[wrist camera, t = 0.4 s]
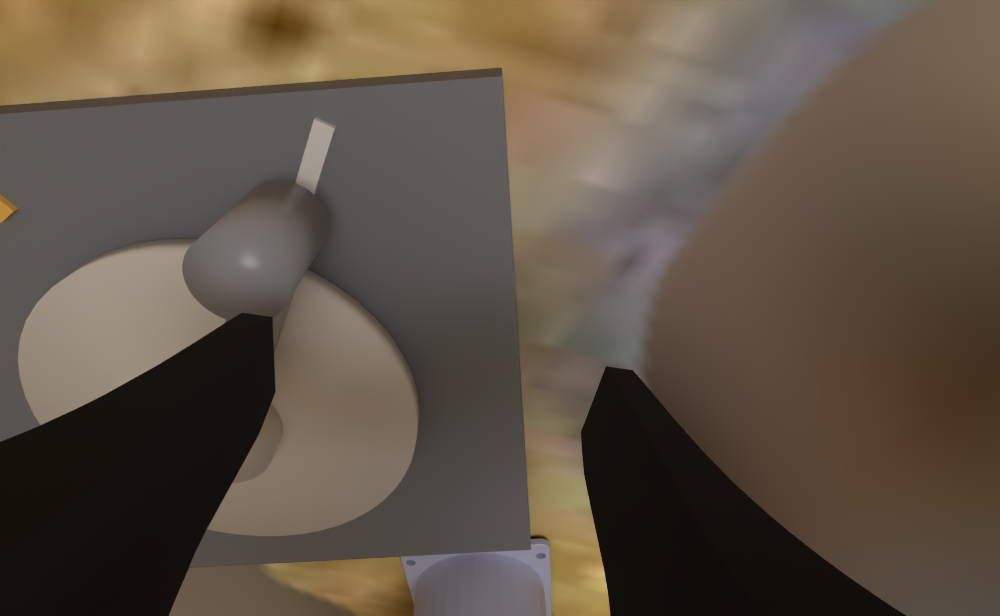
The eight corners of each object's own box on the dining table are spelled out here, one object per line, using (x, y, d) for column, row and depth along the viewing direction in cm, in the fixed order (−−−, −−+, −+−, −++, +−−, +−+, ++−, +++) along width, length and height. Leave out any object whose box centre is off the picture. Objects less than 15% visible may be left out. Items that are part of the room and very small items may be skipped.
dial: (356, 546, 26) (331, 652, 22) (35, 462, 22) (-65, 568, 18) (518, 262, 17) (526, 347, 13) (48, 58, 14) (-127, 91, 10)
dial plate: (529, 523, 28) (531, 553, 26) (118, 545, 28) (98, 576, 27) (501, 67, 16) (502, 77, 14) (-203, 121, 17) (-269, 135, 15)
